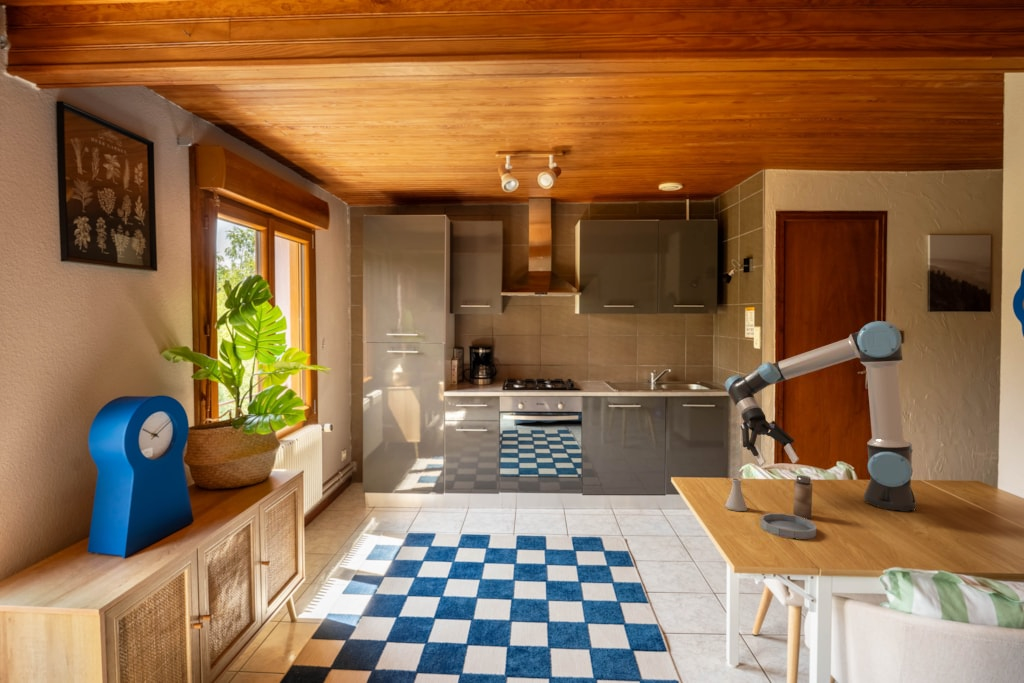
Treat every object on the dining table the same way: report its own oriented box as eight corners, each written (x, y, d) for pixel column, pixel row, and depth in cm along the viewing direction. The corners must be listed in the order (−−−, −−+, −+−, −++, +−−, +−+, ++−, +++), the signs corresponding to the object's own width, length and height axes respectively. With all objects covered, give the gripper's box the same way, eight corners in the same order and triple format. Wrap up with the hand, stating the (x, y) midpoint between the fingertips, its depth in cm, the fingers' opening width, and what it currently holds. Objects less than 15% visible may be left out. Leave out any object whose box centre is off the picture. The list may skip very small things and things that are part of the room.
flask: (749, 512, 179) (750, 483, 179) (726, 511, 180) (727, 481, 180) (744, 505, 186) (745, 477, 186) (722, 504, 187) (723, 475, 187)
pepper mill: (805, 513, 179) (807, 475, 178) (814, 519, 174) (816, 479, 173) (790, 513, 179) (791, 474, 178) (798, 519, 174) (800, 479, 173)
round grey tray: (799, 521, 172) (799, 513, 172) (826, 539, 157) (827, 531, 157) (752, 520, 172) (752, 513, 172) (775, 539, 157) (775, 531, 157)
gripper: (773, 417, 206) (803, 466, 192) (717, 419, 199) (743, 470, 185) (784, 405, 200) (815, 454, 186) (727, 407, 194) (754, 458, 180)
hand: (779, 462), depth 186 cm, fingers open, 13 cm apart
